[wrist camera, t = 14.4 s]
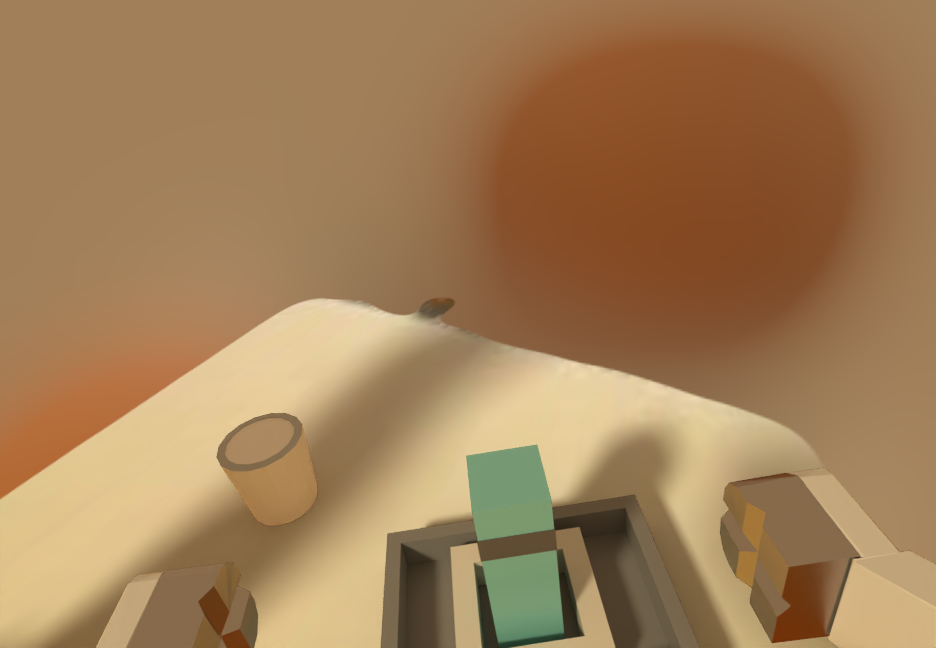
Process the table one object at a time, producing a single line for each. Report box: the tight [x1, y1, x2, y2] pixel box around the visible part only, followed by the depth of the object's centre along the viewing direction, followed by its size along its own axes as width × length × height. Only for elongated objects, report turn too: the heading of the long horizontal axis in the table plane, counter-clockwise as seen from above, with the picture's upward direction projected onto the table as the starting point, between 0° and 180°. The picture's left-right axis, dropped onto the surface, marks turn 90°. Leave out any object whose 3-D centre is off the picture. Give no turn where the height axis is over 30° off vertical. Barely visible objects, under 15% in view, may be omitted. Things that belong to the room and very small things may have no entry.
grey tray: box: [381, 495, 700, 648], centre depth 36 cm, size 18×13×3 cm
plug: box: [466, 445, 565, 648], centre depth 34 cm, size 4×4×13 cm
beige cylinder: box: [217, 413, 318, 526], centre depth 48 cm, size 7×7×7 cm
